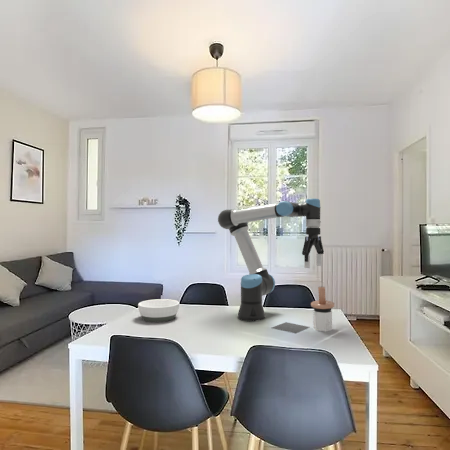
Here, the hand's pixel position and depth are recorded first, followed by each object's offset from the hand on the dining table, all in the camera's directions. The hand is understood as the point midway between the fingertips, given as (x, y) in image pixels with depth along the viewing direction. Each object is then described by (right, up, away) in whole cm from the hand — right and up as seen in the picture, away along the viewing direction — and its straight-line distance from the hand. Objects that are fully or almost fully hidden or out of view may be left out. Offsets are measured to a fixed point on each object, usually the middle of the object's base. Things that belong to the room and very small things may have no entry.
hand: (313, 266), depth 193 cm
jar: (0, -29, -19) cm, 34 cm away
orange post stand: (0, -17, -18) cm, 25 cm away
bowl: (-84, -29, +5) cm, 89 cm away
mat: (-15, -29, -16) cm, 36 cm away
